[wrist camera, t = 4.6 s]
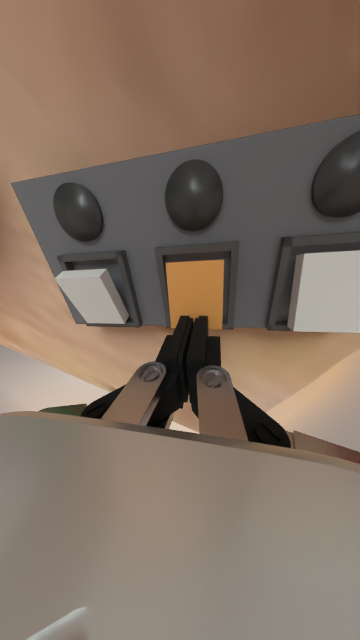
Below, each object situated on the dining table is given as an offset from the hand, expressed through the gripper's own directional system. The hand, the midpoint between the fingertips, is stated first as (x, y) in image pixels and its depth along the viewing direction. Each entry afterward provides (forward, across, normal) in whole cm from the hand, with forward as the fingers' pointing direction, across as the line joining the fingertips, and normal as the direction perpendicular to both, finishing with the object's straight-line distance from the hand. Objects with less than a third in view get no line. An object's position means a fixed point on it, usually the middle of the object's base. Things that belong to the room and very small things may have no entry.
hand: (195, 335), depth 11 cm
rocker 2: (+1, -7, -2) cm, 7 cm away
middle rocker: (+1, 0, -2) cm, 3 cm away
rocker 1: (+1, +7, -2) cm, 7 cm away
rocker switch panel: (+5, 0, -4) cm, 7 cm away
